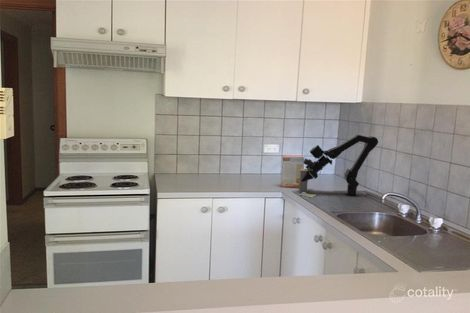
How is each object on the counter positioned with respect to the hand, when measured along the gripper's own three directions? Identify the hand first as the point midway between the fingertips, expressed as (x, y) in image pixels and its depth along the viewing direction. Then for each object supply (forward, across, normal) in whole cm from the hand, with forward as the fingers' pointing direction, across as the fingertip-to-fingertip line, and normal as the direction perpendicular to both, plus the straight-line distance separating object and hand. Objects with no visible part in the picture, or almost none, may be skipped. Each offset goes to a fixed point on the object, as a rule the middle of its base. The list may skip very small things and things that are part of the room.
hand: (301, 180), depth 265 cm
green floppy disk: (+3, +9, +8) cm, 12 cm away
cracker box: (+9, -14, +2) cm, 17 cm away
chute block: (+4, 0, +6) cm, 7 cm away
